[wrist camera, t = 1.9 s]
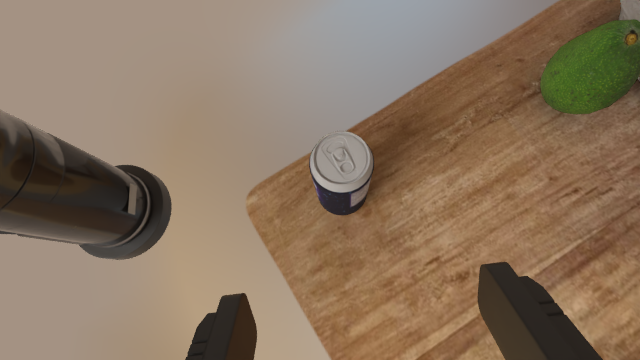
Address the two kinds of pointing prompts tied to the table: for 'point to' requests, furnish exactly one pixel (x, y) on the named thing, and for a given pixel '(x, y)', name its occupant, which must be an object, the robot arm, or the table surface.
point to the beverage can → (341, 171)
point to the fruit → (593, 68)
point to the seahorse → (630, 11)
